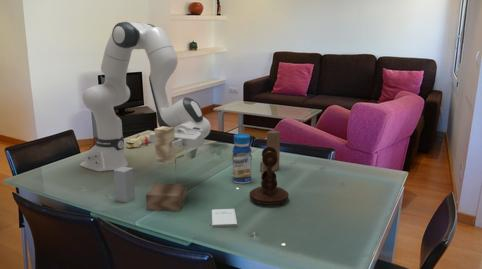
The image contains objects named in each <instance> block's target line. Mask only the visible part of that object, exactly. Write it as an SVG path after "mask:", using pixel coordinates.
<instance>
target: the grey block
mask: <svg viewBox="0 0 482 269" xmlns="http://www.w3.org/2000/svg"><path fill="white" fill-rule="evenodd" d="M134 175H135V174H134V168H133V167H128V166H126V167H123V166H122V167H120V168H118V169H115V170H113V179H114V193H115V201H118V202H122V203H128V202H131V201H132V200H134V199H135V198H136V194H135V191H136V190H135V178H134V177H135V176H134Z"/></svg>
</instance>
